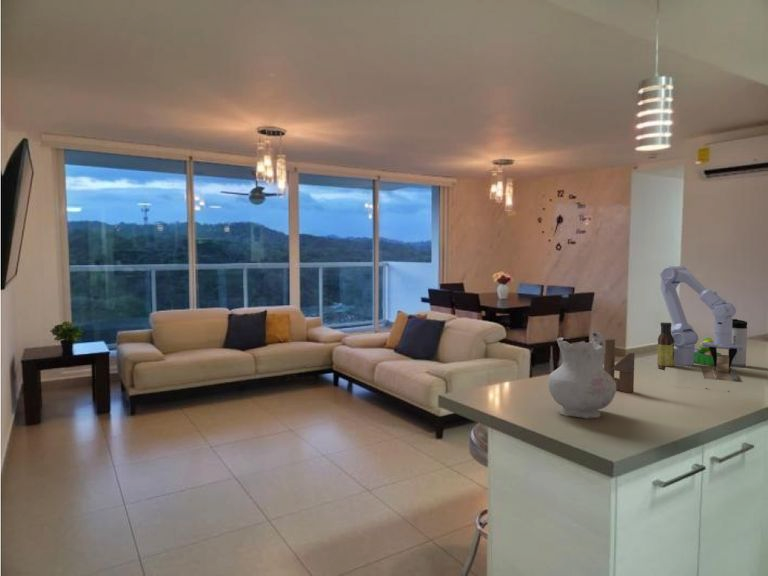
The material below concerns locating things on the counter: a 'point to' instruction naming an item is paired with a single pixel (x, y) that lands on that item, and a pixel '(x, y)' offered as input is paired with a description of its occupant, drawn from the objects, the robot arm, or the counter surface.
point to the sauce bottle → (665, 347)
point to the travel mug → (739, 341)
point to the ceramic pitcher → (582, 379)
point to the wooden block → (619, 367)
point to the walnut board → (721, 374)
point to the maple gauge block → (722, 363)
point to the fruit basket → (704, 354)
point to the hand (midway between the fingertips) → (722, 366)
